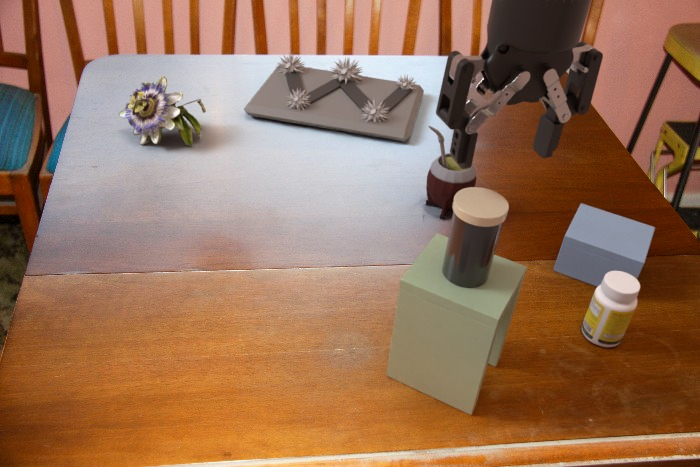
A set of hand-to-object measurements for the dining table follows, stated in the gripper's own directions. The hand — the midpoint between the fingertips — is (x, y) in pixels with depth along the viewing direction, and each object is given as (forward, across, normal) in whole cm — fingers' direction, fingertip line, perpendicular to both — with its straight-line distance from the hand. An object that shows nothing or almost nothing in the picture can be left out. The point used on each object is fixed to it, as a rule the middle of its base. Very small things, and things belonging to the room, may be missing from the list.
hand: (502, 159), depth 61 cm
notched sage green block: (+25, -3, -3) cm, 25 cm away
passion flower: (+25, -26, +57) cm, 68 cm away
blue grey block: (+25, +26, +8) cm, 37 cm away
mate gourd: (+25, +11, +26) cm, 38 cm away
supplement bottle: (+25, +18, -3) cm, 31 cm away
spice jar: (+11, -3, -2) cm, 12 cm away
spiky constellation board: (+25, +6, +61) cm, 67 cm away
